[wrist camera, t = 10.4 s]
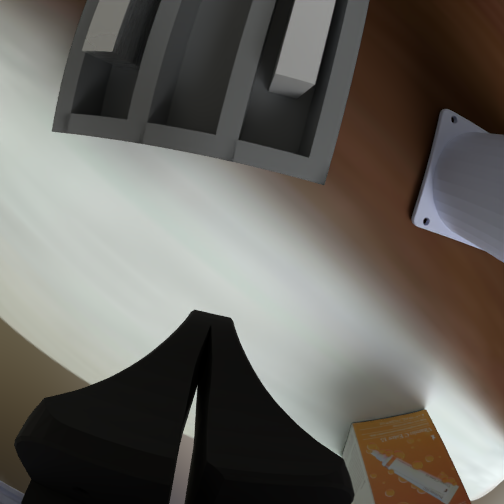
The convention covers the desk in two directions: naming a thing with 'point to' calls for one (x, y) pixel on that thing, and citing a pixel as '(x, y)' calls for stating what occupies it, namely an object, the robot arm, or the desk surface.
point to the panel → (121, 31)
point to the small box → (401, 463)
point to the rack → (225, 82)
